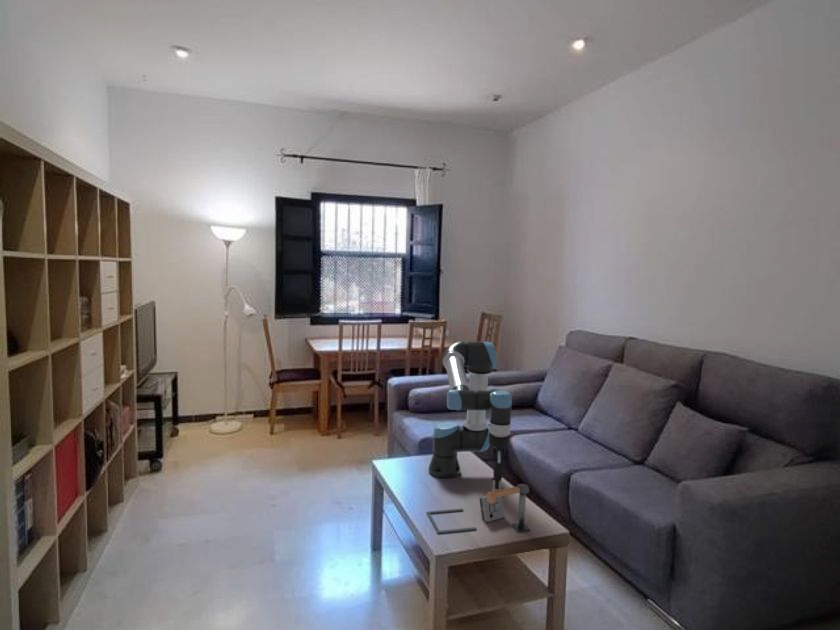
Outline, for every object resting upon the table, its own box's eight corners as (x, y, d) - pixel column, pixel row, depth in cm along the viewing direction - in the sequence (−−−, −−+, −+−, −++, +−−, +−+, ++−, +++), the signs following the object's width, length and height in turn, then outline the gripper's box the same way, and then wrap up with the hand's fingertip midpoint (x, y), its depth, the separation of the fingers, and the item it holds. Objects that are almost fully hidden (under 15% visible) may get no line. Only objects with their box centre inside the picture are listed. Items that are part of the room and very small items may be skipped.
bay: (426, 513, 197) (426, 511, 197) (462, 509, 200) (462, 508, 200) (437, 533, 181) (437, 532, 181) (476, 530, 185) (476, 528, 185)
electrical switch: (486, 523, 190) (485, 499, 190) (477, 518, 195) (477, 494, 195) (505, 517, 195) (504, 494, 195) (496, 513, 199) (496, 490, 199)
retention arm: (523, 492, 189) (524, 483, 189) (530, 496, 185) (531, 487, 185) (485, 499, 182) (486, 490, 182) (492, 504, 178) (492, 495, 178)
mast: (511, 525, 189) (513, 489, 188) (524, 524, 190) (525, 488, 189) (517, 532, 184) (519, 495, 183) (530, 531, 185) (531, 494, 184)
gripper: (488, 427, 188) (485, 487, 191) (489, 439, 176) (486, 503, 178) (508, 429, 188) (505, 489, 190) (511, 440, 175) (507, 505, 177)
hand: (496, 495), depth 184 cm, fingers closed
